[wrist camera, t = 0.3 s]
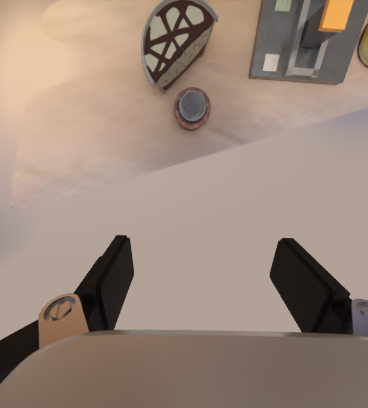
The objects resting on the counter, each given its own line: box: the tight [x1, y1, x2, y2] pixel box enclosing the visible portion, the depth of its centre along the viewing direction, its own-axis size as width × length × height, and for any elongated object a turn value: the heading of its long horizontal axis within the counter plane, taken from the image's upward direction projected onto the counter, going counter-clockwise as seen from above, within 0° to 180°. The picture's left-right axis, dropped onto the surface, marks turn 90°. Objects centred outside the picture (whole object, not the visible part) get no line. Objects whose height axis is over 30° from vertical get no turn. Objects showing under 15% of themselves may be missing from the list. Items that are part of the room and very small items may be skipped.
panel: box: [249, 0, 368, 85], centre depth 29 cm, size 12×17×3 cm
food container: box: [141, 0, 218, 93], centre depth 27 cm, size 12×6×10 cm, turn 130°
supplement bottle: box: [174, 88, 210, 131], centre depth 30 cm, size 6×6×11 cm
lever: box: [299, 0, 354, 48], centre depth 26 cm, size 3×3×6 cm
